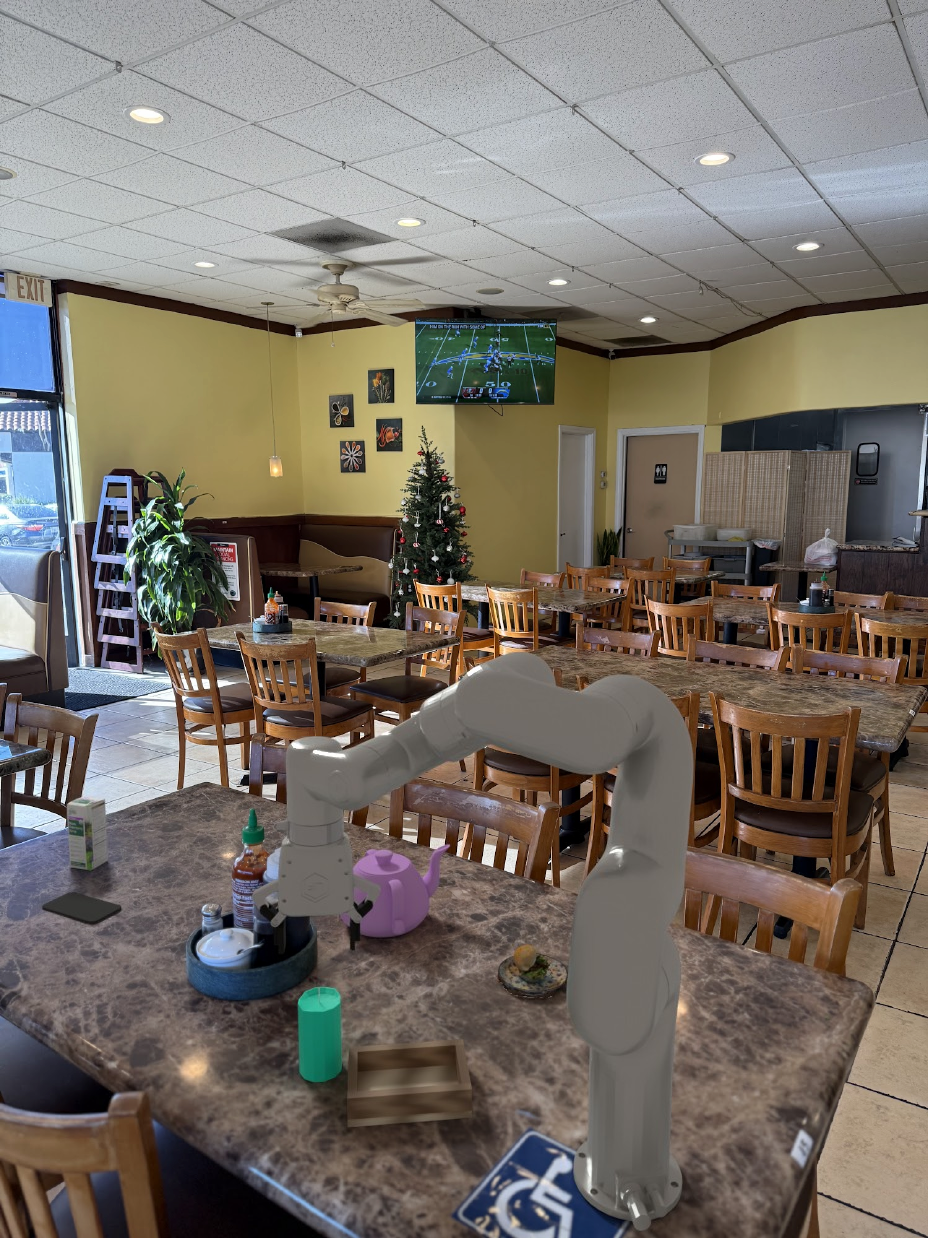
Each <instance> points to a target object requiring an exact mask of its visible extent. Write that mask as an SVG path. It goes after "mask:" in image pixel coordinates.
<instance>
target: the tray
mask: <svg viewBox="0 0 928 1238" xmlns="http://www.w3.org/2000/svg"><path fill="white" fill-rule="evenodd" d="M467 1059H468V1058H467V1055H466V1048H465V1043H464V1039H463V1038H461V1039H448V1040H447V1039H446V1040H430V1041H415V1042H407V1043H406V1042H403V1043H402V1042H399V1043H388V1044H373V1045H371V1044H370V1045H358V1046H348V1065H347V1066H348V1067H347V1094H346V1095H347V1097H346V1099H347V1100H346V1102H347V1103H346V1104H347V1109H346V1110H347V1128H357V1127H367V1126H379V1125H380V1126H381V1125H395V1124H404V1123H405V1124H407V1123H419V1122H432V1121H444V1120H447V1121H448V1120H457V1119H458V1120H459V1119H470V1118H473V1110H472V1109H473V1108H472V1107H473V1106H472V1105H473V1102H472V1101H473V1088H472V1083H471V1077H470V1071H469V1066H468V1061H467Z"/></svg>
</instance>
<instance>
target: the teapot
mask: <svg viewBox="0 0 928 1238" xmlns="http://www.w3.org/2000/svg"><path fill="white" fill-rule="evenodd" d="M450 846H451V844H445V845H441V846H439V847H438V848H436V849H435V850H434V851H433V852H432V854H431V856H430V860H429V868H428V870H427V873H426V874H425V875H424V876H423V877H422V876H421V874H420V873H419V871H418V869H417V868H416V866H415V865H414V863H412V861H411V860H410V859H409V858H408V857H406V856H404V855H402V854H399V853H394V852H393V851H392V850H389V849H381V850H380V849H379V850H377V849H374V848H371V849H368V850H366V853H365V856H363V857H362V858H360V859H359V860H358V861H357V863H356V864H355V865H353V871H354V874H355V875H357V876H359V877H361V878H364V879H366V880H368V881H370V882H373V883H375V884H377V885H379V886H380V894H379V896H378V898H377V900H376V902H375V903H374V905H373V908H372V909H371V910H370V911H369V912H368V913H367V914H366V915H365V916H364V917H363V918H362V921H361V922H360V935H363V936H366V937H370V938H391V937H392V938H393V937H396V936H397V937H398V936H401V935H404V934H406V933H409V932H411V931H413V930H415V929H416V928H417V927H418V926H419V925H420V924H421V923H422V922H423V921H424V919H425V918H426V917H427V915H428V913H429V911H430V899H431V898H432V896H434V894H435V893H436V891H437V890H438V887H439V886H440V885H439V884H440V878H441V877H440V867H441V864H440V863H441V859H442V857H443V855H444V853H445V852H446V851H447V850H448V849H449V848H450ZM367 895H368V894H367V893H366V892H363V891H361V890H359V889H356V888H354V900H355V901H356V902H357V903H358V904H360V903H361V902H362V901H363V900H364V899H365V898H366V897H367ZM339 916H340V918H341V919H342V921H343V922H344V923H345V925H347V926H348V927H349V928H350V917H349V916H348V915H347V913H344V914H339Z"/></svg>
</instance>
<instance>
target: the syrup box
mask: <svg viewBox="0 0 928 1238" xmlns="http://www.w3.org/2000/svg"><path fill="white" fill-rule="evenodd" d="M106 813H107V811H106V798H99V797H98V798H96V797H88V796H82V797H79V798H78V797H77V798H76V799H74V800H71V801H70V802H68V803H66V815H67V816H66V818H67V831H68V848H69V850H68V851H69V852H68V853H69V867H70V868H71V869H72V868H73V869H80V870H85V871H90V872H91V871H92V870H93V871H94V870H95V869H97V868H98V867H100V866H101V865H103V864H105V863H106V862H108V861H109V856H108V855H109V853H108V834H107V833H108V832H107V829H108V828H107V816H106V815H107V814H106Z"/></svg>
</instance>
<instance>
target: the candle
mask: <svg viewBox="0 0 928 1238" xmlns="http://www.w3.org/2000/svg"><path fill="white" fill-rule="evenodd" d="M341 998H342V996H341V994H340V992H339V991H338V990H337V989H336V988H334V987H327V986H320V987H319V986H318V987H317V986H316V987H312V988H311V989H308V990H305V991H304V992H303V994H302V995H301V996H300V998H298V1002H297V1019H298V1020H297V1022H298V1025H297V1027H298V1057H299V1058H298V1060H299V1061H298V1063H299V1069H298V1070H299V1075H301V1076H302V1078H303V1079H304V1080H306V1081H309V1082H312V1083H320V1082H323V1083H325V1082H327V1081H330V1080H332V1079H334V1078H336V1077H337V1076H338V1075H339V1074H341V1072H342V1069H343V1057H342V1055H343V1052H342V1051H343V1048H342V1047H343V1046H342V1044H343V1043H342V1001H341Z"/></svg>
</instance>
